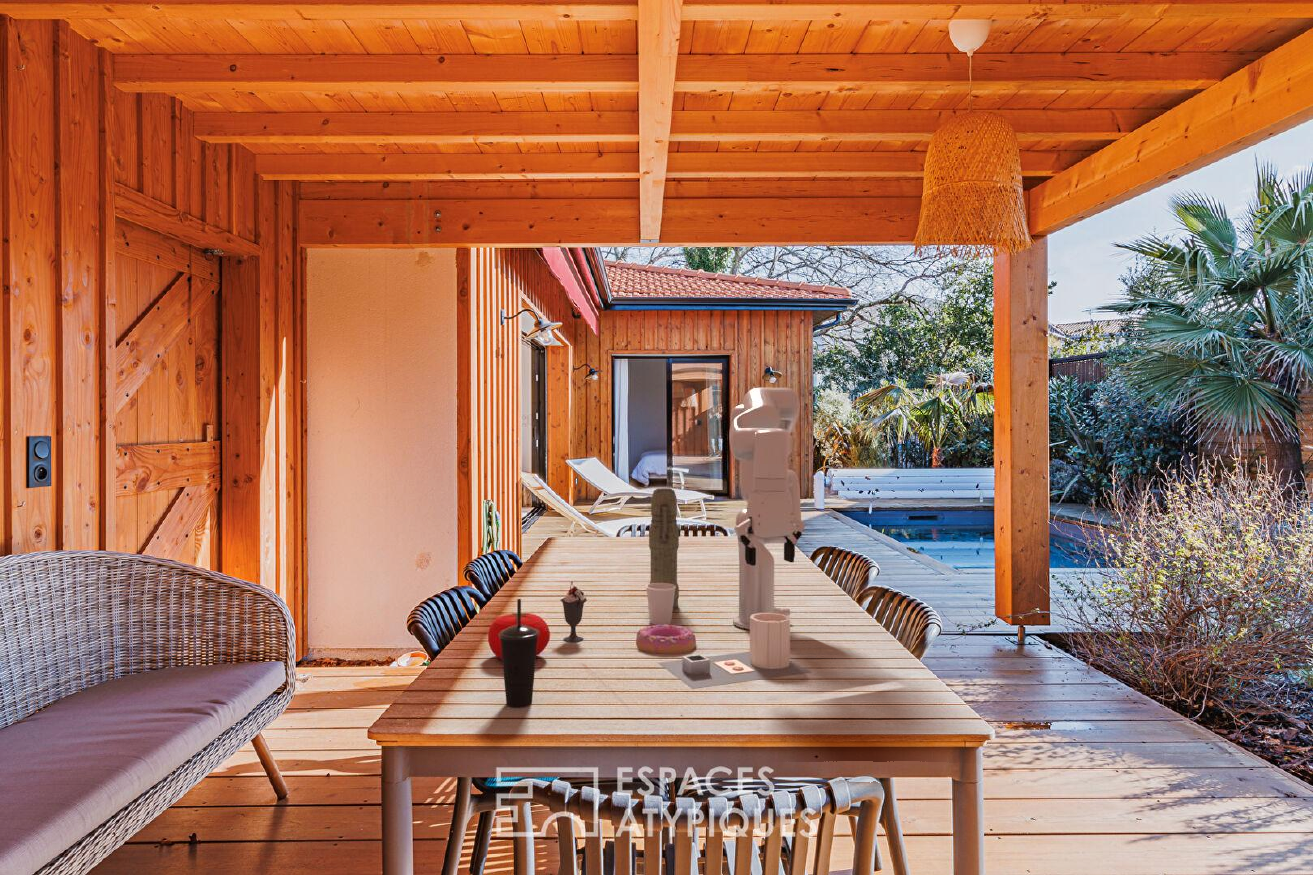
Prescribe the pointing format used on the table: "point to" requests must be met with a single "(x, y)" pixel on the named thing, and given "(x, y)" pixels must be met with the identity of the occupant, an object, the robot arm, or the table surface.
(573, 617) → the sundae
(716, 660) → the board
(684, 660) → the grey hollow block
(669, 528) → the olive tall column
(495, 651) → the tomato
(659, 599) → the dixie cup
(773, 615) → the tube
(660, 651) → the donut
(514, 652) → the drinking cup
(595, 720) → the table surface
